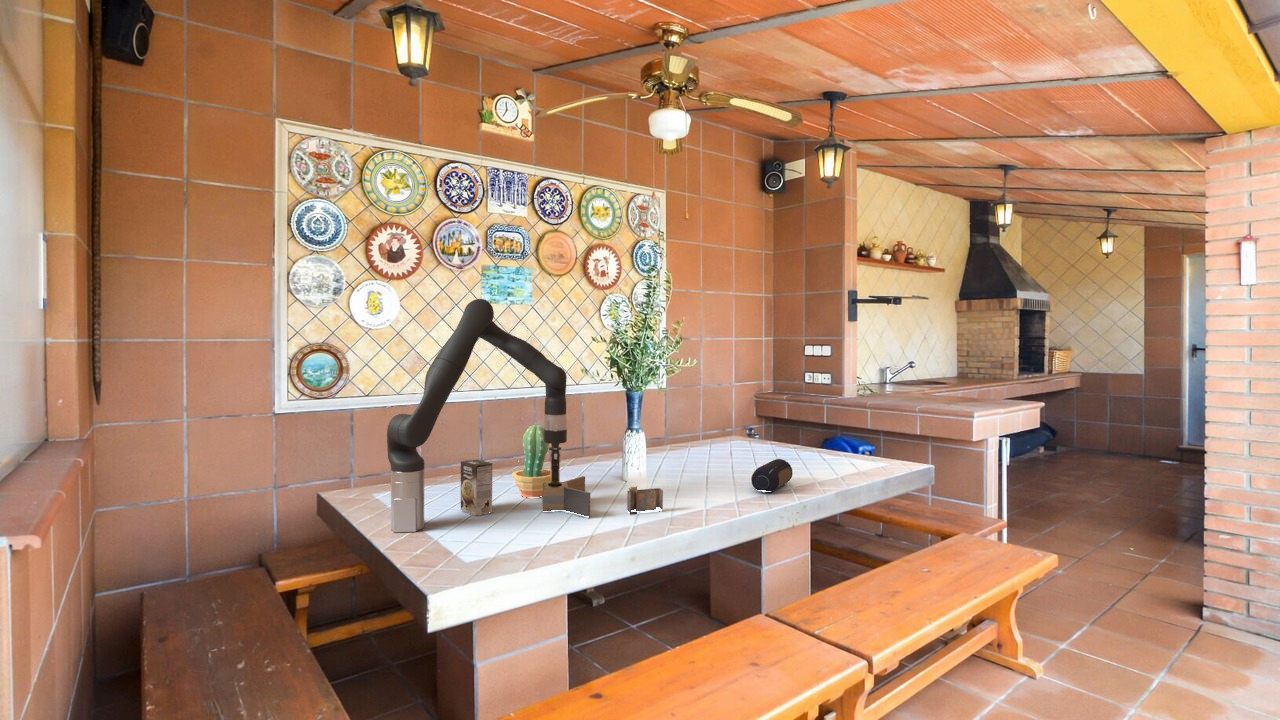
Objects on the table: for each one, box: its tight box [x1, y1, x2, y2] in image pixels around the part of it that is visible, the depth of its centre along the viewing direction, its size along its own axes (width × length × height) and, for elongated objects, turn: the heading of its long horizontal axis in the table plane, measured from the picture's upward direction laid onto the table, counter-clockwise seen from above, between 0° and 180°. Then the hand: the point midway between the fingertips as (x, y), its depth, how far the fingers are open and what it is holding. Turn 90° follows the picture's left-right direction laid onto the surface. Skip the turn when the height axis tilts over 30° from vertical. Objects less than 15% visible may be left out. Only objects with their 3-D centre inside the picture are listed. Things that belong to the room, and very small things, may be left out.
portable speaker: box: [750, 458, 793, 492], centre depth 249 cm, size 25×10×10 cm, turn 150°
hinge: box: [541, 475, 591, 517], centre depth 216 cm, size 25×15×8 cm, turn 9°
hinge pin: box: [549, 462, 561, 486], centre depth 215 cm, size 4×4×11 cm
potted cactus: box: [511, 424, 550, 498], centre depth 233 cm, size 15×15×25 cm
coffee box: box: [460, 459, 494, 516], centre depth 211 cm, size 9×6×16 cm
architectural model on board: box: [626, 485, 664, 512], centre depth 213 cm, size 11×3×10 cm, turn 111°
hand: (554, 480), depth 215 cm, fingers closed on hinge pin, 3 cm apart
